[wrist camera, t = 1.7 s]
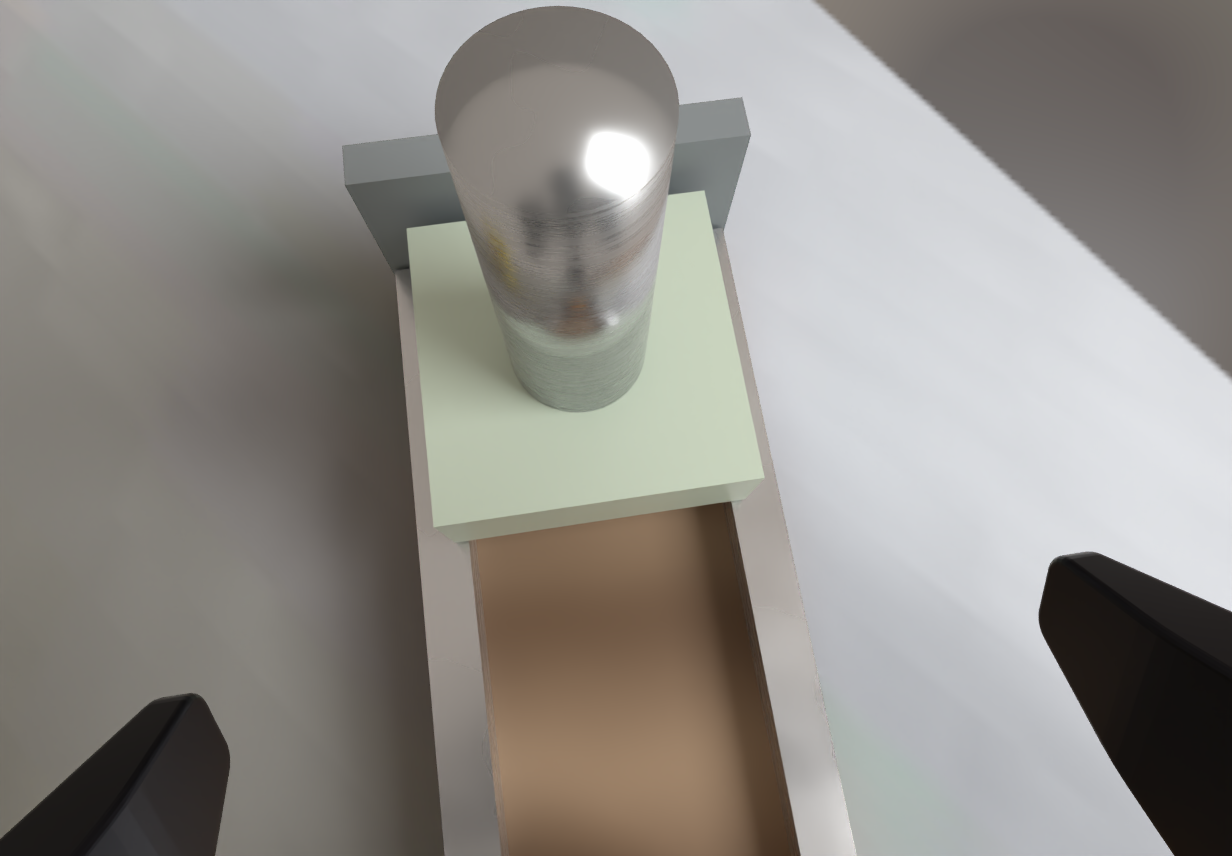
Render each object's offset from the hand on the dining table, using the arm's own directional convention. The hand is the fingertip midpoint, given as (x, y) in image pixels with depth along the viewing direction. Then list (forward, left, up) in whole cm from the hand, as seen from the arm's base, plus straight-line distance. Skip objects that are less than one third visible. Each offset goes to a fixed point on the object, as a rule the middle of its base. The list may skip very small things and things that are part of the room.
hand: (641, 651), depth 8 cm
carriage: (+4, +5, -10) cm, 12 cm away
